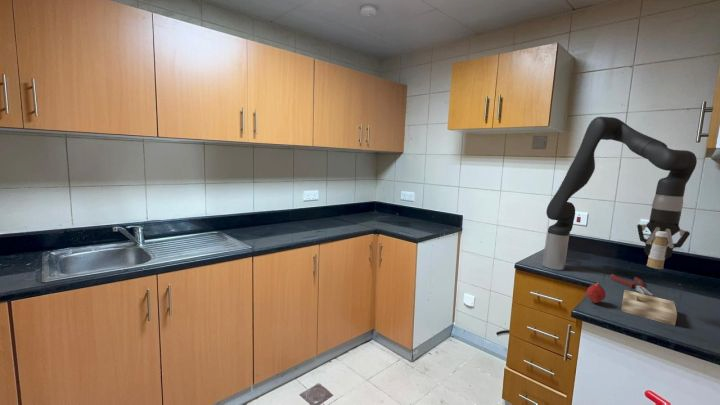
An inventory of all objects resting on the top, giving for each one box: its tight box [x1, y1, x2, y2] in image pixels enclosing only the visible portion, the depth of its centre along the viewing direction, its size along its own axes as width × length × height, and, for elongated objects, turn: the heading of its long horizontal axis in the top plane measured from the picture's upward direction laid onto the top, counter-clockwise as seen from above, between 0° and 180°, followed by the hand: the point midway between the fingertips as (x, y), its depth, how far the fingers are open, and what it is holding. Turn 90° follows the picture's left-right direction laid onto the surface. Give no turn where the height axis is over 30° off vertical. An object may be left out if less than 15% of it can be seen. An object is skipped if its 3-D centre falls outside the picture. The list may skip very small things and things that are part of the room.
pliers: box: [609, 273, 654, 297], centre depth 140 cm, size 11×20×3 cm, turn 165°
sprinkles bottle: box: [646, 231, 669, 270], centre depth 113 cm, size 5×5×13 cm
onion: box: [585, 282, 607, 304], centre depth 121 cm, size 6×6×8 cm
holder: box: [620, 289, 678, 327], centre depth 116 cm, size 14×14×4 cm
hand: (657, 255), depth 113 cm, fingers closed on sprinkles bottle, 4 cm apart
